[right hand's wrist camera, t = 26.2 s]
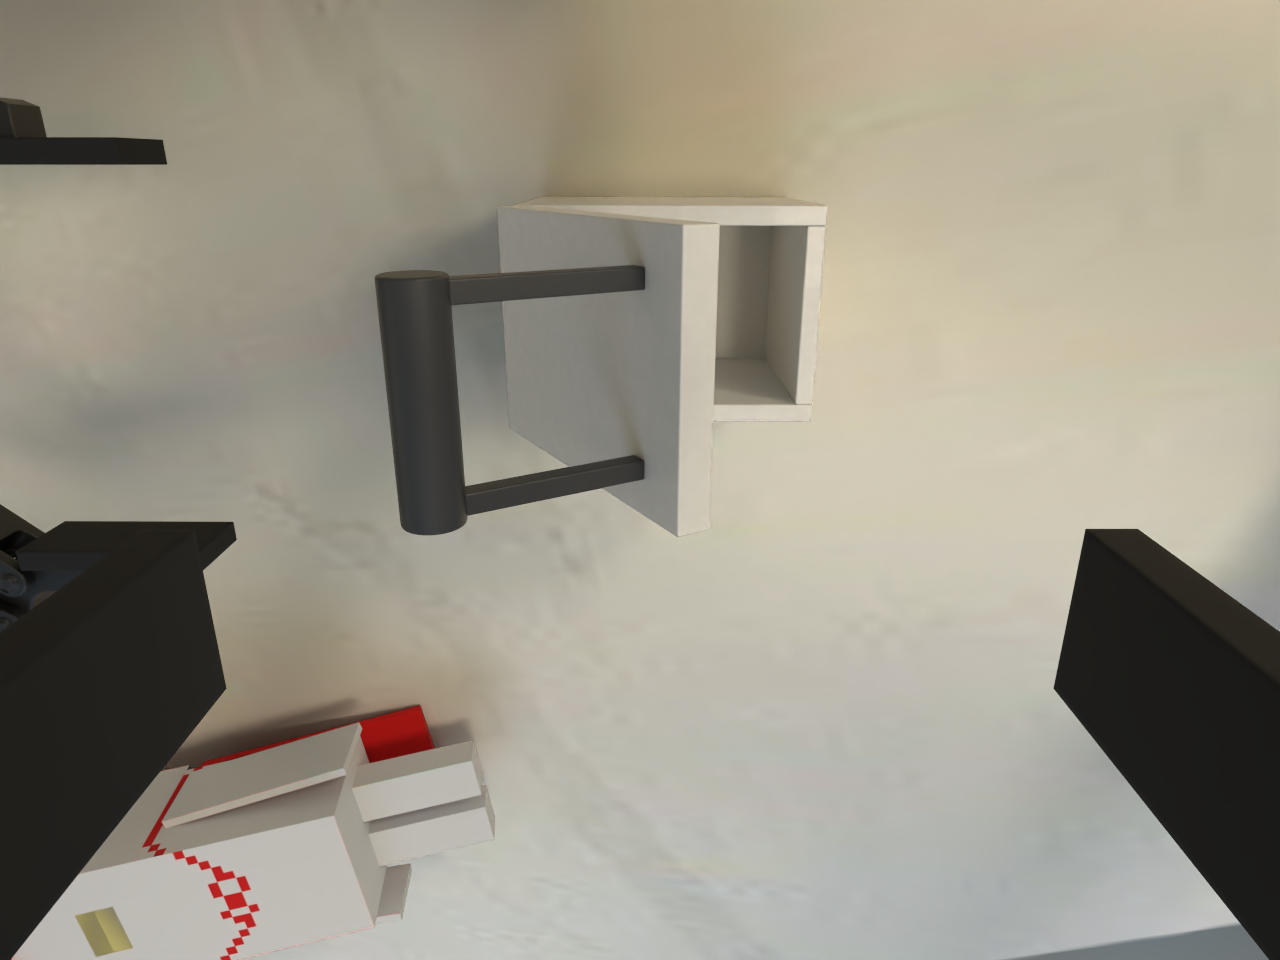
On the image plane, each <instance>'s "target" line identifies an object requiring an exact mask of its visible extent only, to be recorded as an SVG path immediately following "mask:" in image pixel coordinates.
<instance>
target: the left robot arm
mask: <svg viewBox="0 0 1280 960" xmlns="http://www.w3.org/2000/svg"><path fill="white" fill-rule="evenodd" d="M0 164H167V161H166V156H165V150H164V145H163V140H154V139H133V138H47V137H46V132H45V128H44V124H43V119H42V115H41V111H40V107H39V106H36V105H34V104H31V103H29V102H26V101H24V100H18V99H8V98H0ZM142 529H194V530H195V535H196V540H197V545H198V550H199V555H200V560H201V565H202V570H204V569H205V568H206V567H207V566H208V565H209V564H211V563H212V562H213V561H214V560H215V559H216V558H217V557H218V556H219V555H220V554H222V553H223V552H224V551H225V550H226V549H227V548H228V547H229V546H230V545H231V544H232V543H234V542H235V541H236V540H237V539H236V534H235V529H234V523H233V522H102V521H65V522H63V523H61V524H60V525H58V526H57V527H55V528H53V529H52V530H50V531H48V532H47V533H44V532H42V531H41V530H39V529H38V528H36V527H35V526H33V525H31V524H30V523H28V522H27V521H25V520H24V519H22V518H21V517H19V516H17V515H16V514H14V513H13V512H11V511H10V510H8V509H7V508H5V507H4V506H2V505H0V632H1V631H2V630H4V629H5V628H6V627H8V626H9V625H11V624H12V623H13V622H15V621H16V620H18V619H19V618H20V617H22V616H23V615H24V614H26V613H27V612H29V611H30V610H31V609H33V608H34V607H35V606H37V605H38V604H40V603H41V602H42V601H44V600H45V599H46V598H48V597H49V596H51V595H52V594H53V593H55V592H56V591H58V590H59V589H60V588H62V587H63V586H64V585H66V584H67V583H69V582H70V581H71V580H73V579H74V578H75V577H77V576H78V575H80V574H81V573H82V572H84V571H85V570H86V569H88V568H89V567H91V566H92V565H93V564H95V563H96V562H97V561H99V560H100V559H102V558H103V557H104V556H106V555H107V554H109V553H110V552H111V551H113V550H114V549H115V548H117V547H118V546H120V545H121V544H122V543H124V542H125V541H126V540H128V539H129V538H131V537H132V536H133V535H135V534H136V533H137V532H139V531H140V530H142ZM14 558H15V559H14Z"/></svg>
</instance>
